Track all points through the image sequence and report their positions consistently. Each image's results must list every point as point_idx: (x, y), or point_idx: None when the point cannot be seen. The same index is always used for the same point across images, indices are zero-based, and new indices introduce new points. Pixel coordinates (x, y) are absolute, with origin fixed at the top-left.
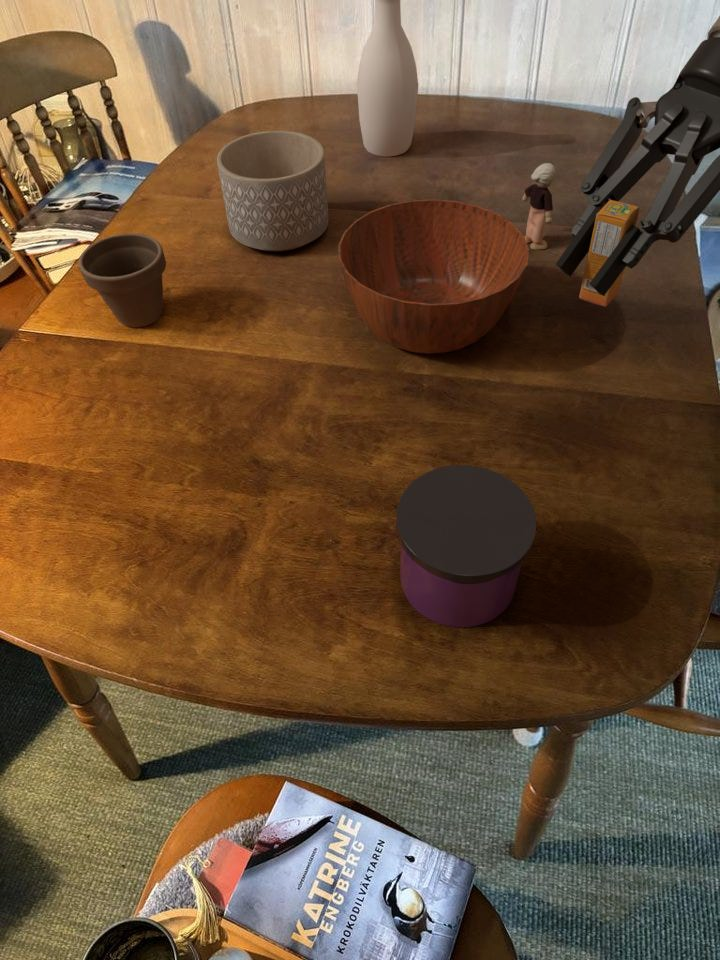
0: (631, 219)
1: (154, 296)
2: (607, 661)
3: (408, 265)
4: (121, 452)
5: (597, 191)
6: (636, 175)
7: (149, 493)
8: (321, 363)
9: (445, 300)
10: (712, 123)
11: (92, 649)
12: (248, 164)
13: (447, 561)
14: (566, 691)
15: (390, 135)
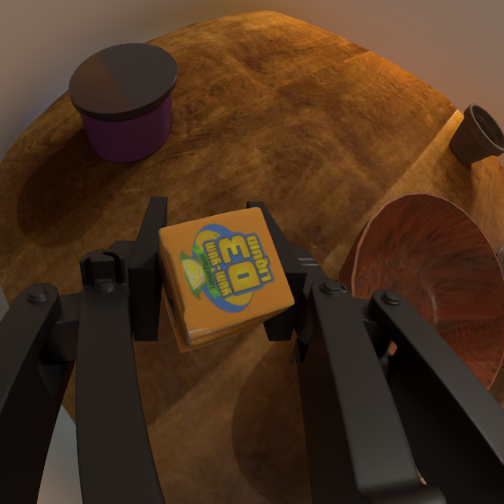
0: (171, 284)
1: (465, 141)
2: (21, 158)
3: (451, 333)
4: (353, 73)
5: (351, 300)
6: (319, 436)
7: (316, 63)
8: (381, 198)
9: None
10: None
11: (238, 16)
12: None
13: (110, 51)
14: (34, 129)
15: None
